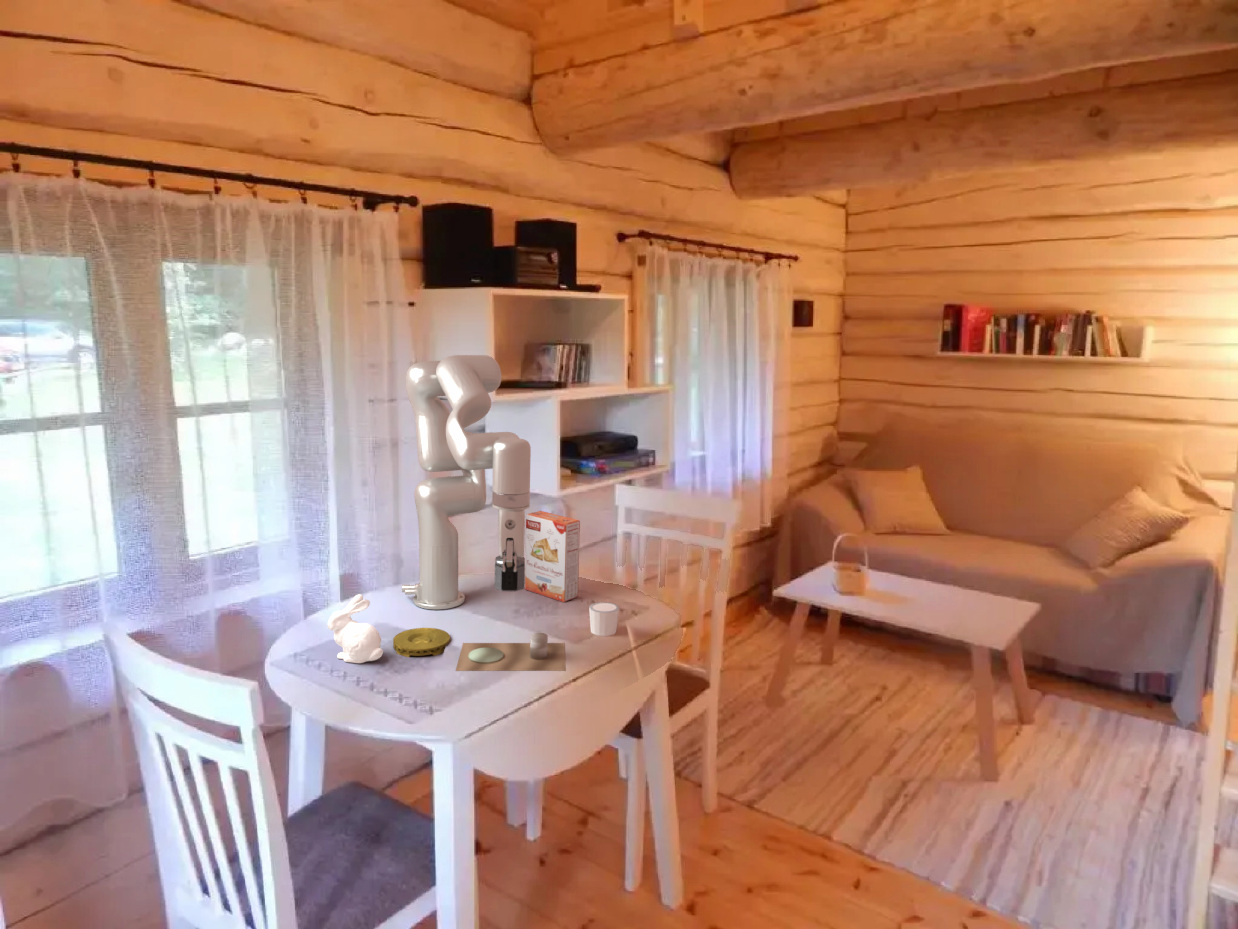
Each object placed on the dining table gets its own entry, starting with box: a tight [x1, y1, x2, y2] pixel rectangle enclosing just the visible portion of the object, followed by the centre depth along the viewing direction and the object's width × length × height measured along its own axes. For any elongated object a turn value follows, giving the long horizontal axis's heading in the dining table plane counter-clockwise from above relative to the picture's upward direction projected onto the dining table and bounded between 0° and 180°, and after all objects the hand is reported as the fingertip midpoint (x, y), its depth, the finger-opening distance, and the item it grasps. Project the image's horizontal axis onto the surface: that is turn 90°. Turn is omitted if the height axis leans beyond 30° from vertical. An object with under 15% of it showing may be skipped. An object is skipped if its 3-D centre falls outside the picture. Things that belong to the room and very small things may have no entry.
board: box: [455, 632, 566, 672], centre depth 173 cm, size 22×14×6 cm, turn 95°
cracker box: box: [524, 510, 581, 603], centre depth 213 cm, size 14×6×21 cm, turn 52°
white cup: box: [588, 601, 620, 637], centre depth 188 cm, size 7×7×7 cm
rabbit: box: [327, 593, 384, 664], centre depth 172 cm, size 12×9×12 cm
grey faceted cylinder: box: [494, 554, 526, 592], centre depth 170 cm, size 6×6×6 cm
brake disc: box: [392, 627, 451, 658], centre depth 179 cm, size 12×12×2 cm
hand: (509, 583), depth 170 cm, fingers closed on grey faceted cylinder, 6 cm apart
